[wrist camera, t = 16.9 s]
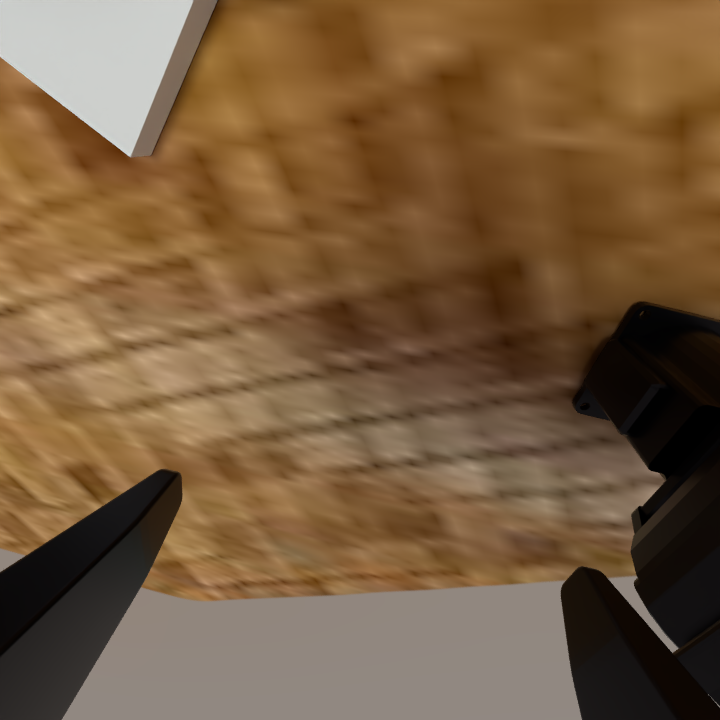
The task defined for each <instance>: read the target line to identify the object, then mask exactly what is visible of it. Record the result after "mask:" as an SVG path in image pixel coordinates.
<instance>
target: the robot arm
mask: <svg viewBox="0 0 720 720" xmlns="http://www.w3.org/2000/svg"><path fill="white" fill-rule="evenodd" d="M645 310H647V311H646V314H645V315H643V316H641V317H639V314H640V313H641V312H642V311H645ZM583 403H586V404H585V405H583V406H580V405H581V404H583ZM572 404H573V407H574V408H575V410H576V411H577V412H578V413H580V414H584V415H588V416H593V417H597V418H601V419H605V420H609V421H611V422H612V424H613V425H614V426H615V428H616V429H617V431H618V432H619V433H620V434H621V435H625V437H626V438H627V440H628V441H629V442H630V444H631V445H632V447H633V448H634V449H635V451H636V452H637V454H638V455H639V456H640V458H641V459H642V461H643V462H644V463H645V465H646V466H647V467H648V469H649V470H651V471H654V472H658V473H660V474H661V476H662V477H663V478H664V480H665V482H664V483H663V485H662V486H661V487H660V488H659V489H658V490H657V491H656V492H655V493H654V494H653V495H652V497H651V498H650V499H649V500H648V501H647V502H646V503H645V504H644V505H643V506H639V507H638V508H637V509H636V510H635V511H634V512H633V513H632V514H631V517H632V522H633V528H634V533H635V535H634V536H633V541H632V546H631V555H632V559H633V563H634V567H635V571H636V575H637V577H638V578H637V579H636V580H635V581H634V586H635V589H636V591H637V593H638V594H639V596H640V598H641V600H642V601H643V603H644V605H645V606H646V608H647V610H648V612H649V613H650V615H651V616H652V617H653V619H654V620H655V621H656V623H657V624H658V625H659V626H660V628H661V629H662V630H663V632H664V633H665V634H666V636H667V637H668V638H669V639H670V640H671V641H672V642H673V643H674V644H675V645H676V646H677V647H678V648H679V649H678V650H676V651H675V652H673V653H672V652H671V651H670V650H669V649H668V648H667V646H666V645H665V644H664V643H663V642H662V641H661V640H660V638H659V637H658V636H657V635H656V634H655V633H654V631H653V630H652V629H651V628H650V627H649V626H648V625H647V623H646V622H645V621H644V620H643V619H642V618H641V617H640V616H639V614H638V613H637V612H636V611H635V610H634V608H633V607H632V606H631V605H630V604H629V603H628V602H627V600H626V599H625V598H624V597H623V596H622V595H621V594H620V592H619V591H618V590H617V589H616V588H615V587H614V585H613V584H612V583H611V582H610V581H609V580H608V578H607V577H606V576H605V575H604V574H603V573H602V572H601V571H599V570H596V569H593V568H588V567H584V566H581V567H578V568H577V569H576V570H575V571H574V572H573V573H572V575H571V576H570V577H569V578H568V579H567V580H566V581H565V582H564V584H563V585H562V588H561V602H562V609H563V616H564V623H565V631H566V638H567V645H568V653H569V660H570V666H571V671H572V677H573V682H574V687H575V691H576V695H577V700H578V704H579V708H580V713H581V717H582V720H720V708H719V707H718V705H719V706H720V320H717V319H713V318H709V317H705V316H701V315H697V314H692V313H688V312H684V311H680V310H676V309H672V308H668V307H664V306H660V305H656V304H652V303H648V302H641V303H637V304H636V305H634V306H633V307H632V308H631V309H630V311H629V312H628V314H627V316H626V317H625V319H624V320H623V322H622V324H621V325H620V327H619V328H618V330H617V332H616V333H615V335H614V336H613V338H612V339H611V341H609V342H608V343H607V345H606V346H605V348H604V350H603V351H602V353H601V354H600V356H599V357H598V359H597V361H596V362H595V364H594V365H593V367H592V369H591V370H590V372H589V373H588V375H587V377H586V378H585V380H584V384H583V386H582V387H581V389H580V390H579V392H578V393H577V395H576V397H575V398H574V400H573V402H572ZM181 502H182V477H181V474H180V473H179V472H177V471H173V470H168V469H160V470H158V471H156V472H155V473H153V474H152V475H150V476H149V477H147V478H146V479H144V480H143V481H141V482H139V483H138V484H136V485H135V486H133V487H132V488H130V489H129V490H127V491H125V492H124V493H122V494H121V495H119V496H118V497H116V498H115V499H113V500H111V501H110V502H108V503H107V504H105V505H104V506H102V507H101V508H99V509H98V510H96V511H94V512H93V513H91V514H90V515H88V516H87V517H85V518H84V519H82V520H80V521H79V522H77V523H76V524H74V525H73V526H71V527H70V528H68V529H67V530H65V531H63V532H62V533H60V534H59V535H57V536H56V537H54V538H53V539H51V540H49V541H48V542H46V543H45V544H43V545H42V546H40V547H39V548H37V549H36V550H34V551H32V552H31V553H29V554H28V555H26V556H25V557H23V558H22V559H20V560H18V561H17V562H16V563H14V564H12V565H11V566H9V567H8V568H6V569H5V570H3V571H1V572H0V720H62V718H63V716H64V715H65V713H66V712H67V710H68V708H69V707H70V705H71V703H72V702H73V700H74V698H75V697H76V695H77V693H78V692H79V690H80V688H81V687H82V685H83V683H84V681H85V680H86V678H87V676H88V675H89V673H90V671H91V670H92V668H93V666H94V665H95V663H96V661H97V660H98V658H99V656H100V655H101V653H102V651H103V650H104V648H105V646H106V645H107V643H108V641H109V640H110V638H111V636H112V635H113V633H114V631H115V630H116V628H117V626H118V625H119V623H120V621H121V620H122V618H123V616H124V614H125V613H126V611H127V609H128V608H129V606H130V604H131V603H132V601H133V599H134V598H135V596H136V594H137V593H138V591H139V589H140V588H141V586H142V584H143V582H144V581H145V579H146V577H147V575H148V573H149V571H150V569H151V567H152V565H153V563H154V561H155V559H156V556H157V554H158V552H159V550H160V548H161V546H162V544H163V542H164V539H165V537H166V535H167V533H168V531H169V529H170V527H171V524H172V522H173V520H174V518H175V516H176V514H177V512H178V510H179V507H180V505H181ZM708 694H709V695H710V696H711V697H712V698H713V699H712V698H711V697H710V696H709V695H708ZM713 700H714V701H715V702H717V704H718V705H717V704H716V703H715V702H714V701H713Z"/></svg>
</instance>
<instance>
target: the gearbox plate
mask: <svg viewBox="0 0 720 720" xmlns="http://www.w3.org/2000/svg"><path fill="white" fill-rule="evenodd" d="M217 1H218V0H0V57H1V58H2V59H4V60H5V61H6V62H8V63H9V64H10V65H11V66H13V67H14V68H15V69H17V70H18V71H19V72H21V73H22V74H23V75H24V76H26V77H27V78H28V79H30V80H31V81H32V82H33V83H35V84H36V85H37V86H39V87H40V88H41V89H43V90H44V91H45V92H46V93H48V94H49V95H50V96H52V97H53V98H54V99H56V100H57V101H58V102H59V103H61V104H62V105H63V106H65V107H66V108H67V109H69V110H70V111H71V112H72V113H74V114H75V115H76V116H78V117H79V118H80V119H81V120H83V121H84V122H85V123H87V124H88V125H89V126H91V127H92V128H93V129H94V130H96V131H97V132H98V133H100V134H101V135H102V136H104V137H105V138H106V139H107V140H109V141H110V142H111V143H113V144H114V145H115V146H116V147H118V148H119V149H120V150H122V151H123V152H124V153H126V154H127V155H128V156H129V157H139V156H151V154H152V152H153V150H154V147H155V145H156V143H157V140H158V138H159V136H160V133H161V131H162V129H163V126H164V124H165V122H166V120H167V117H168V115H169V113H170V110H171V108H172V106H173V103H174V101H175V99H176V96H177V94H178V92H179V89H180V87H181V85H182V82H183V80H184V78H185V75H186V73H187V71H188V68H189V66H190V64H191V61H192V59H193V57H194V54H195V52H196V50H197V47H198V45H199V43H200V40H201V38H202V36H203V33H204V31H205V29H206V26H207V24H208V22H209V19H210V17H211V15H212V12H213V10H214V8H215V5H216V3H217Z"/></svg>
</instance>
